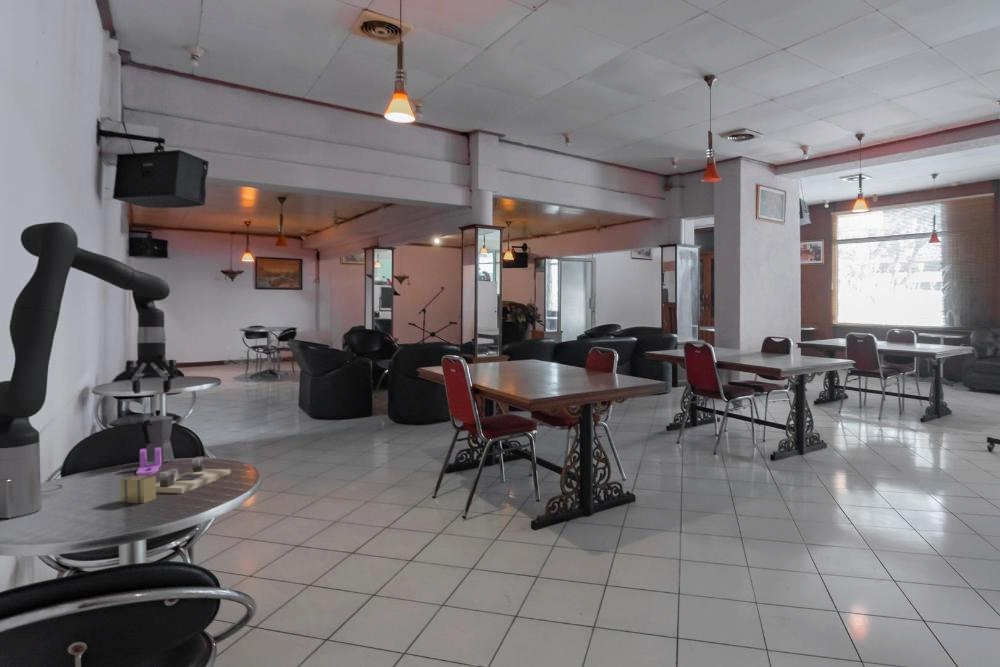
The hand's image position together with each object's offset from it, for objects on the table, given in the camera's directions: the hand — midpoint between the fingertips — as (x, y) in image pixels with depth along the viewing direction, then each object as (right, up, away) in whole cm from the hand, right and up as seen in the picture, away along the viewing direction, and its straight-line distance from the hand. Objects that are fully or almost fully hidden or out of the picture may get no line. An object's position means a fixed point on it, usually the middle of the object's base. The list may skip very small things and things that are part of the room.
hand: (151, 392), depth 173 cm
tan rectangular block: (+14, -26, -27) cm, 40 cm away
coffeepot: (-9, -26, +17) cm, 32 cm away
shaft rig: (+18, -26, -11) cm, 33 cm away
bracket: (-3, -26, +4) cm, 27 cm away
